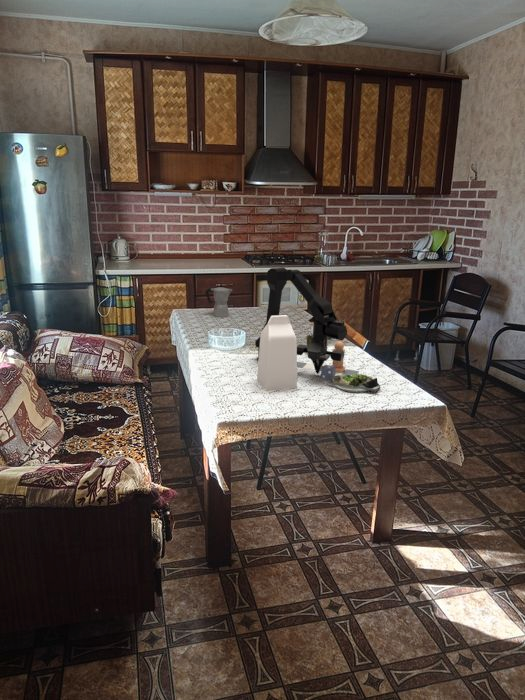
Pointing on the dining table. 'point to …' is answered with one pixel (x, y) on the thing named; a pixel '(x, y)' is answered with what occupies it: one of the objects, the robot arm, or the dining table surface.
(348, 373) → the board
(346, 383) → the salad plate
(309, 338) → the cup
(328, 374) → the die
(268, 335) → the milk
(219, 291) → the coffeepot
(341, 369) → the pawn
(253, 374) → the dining table surface
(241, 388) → the dining table surface
